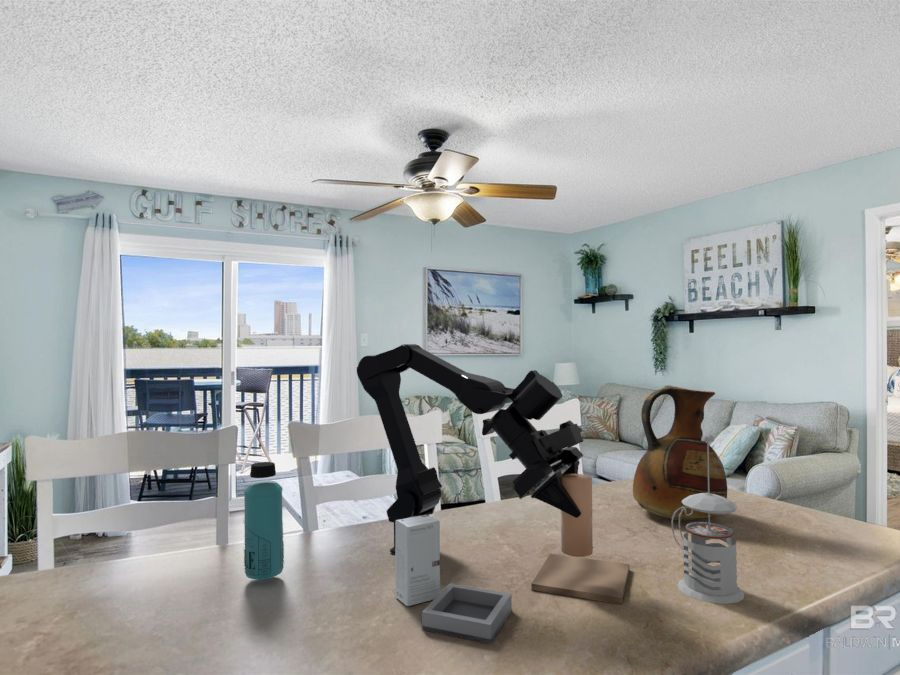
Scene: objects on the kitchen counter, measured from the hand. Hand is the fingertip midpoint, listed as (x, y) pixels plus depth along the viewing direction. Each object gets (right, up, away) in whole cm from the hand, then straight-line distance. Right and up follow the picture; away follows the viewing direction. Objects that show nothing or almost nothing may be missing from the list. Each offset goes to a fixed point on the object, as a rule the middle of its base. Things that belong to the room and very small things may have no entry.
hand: (584, 511), depth 90 cm
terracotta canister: (-1, -7, +1) cm, 7 cm away
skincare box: (-27, -13, -3) cm, 30 cm away
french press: (+20, -13, 0) cm, 23 cm away
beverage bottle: (-53, -13, +4) cm, 55 cm away
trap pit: (-19, -13, -10) cm, 25 cm away
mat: (0, -13, +3) cm, 13 cm away
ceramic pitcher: (+31, -13, +38) cm, 51 cm away
